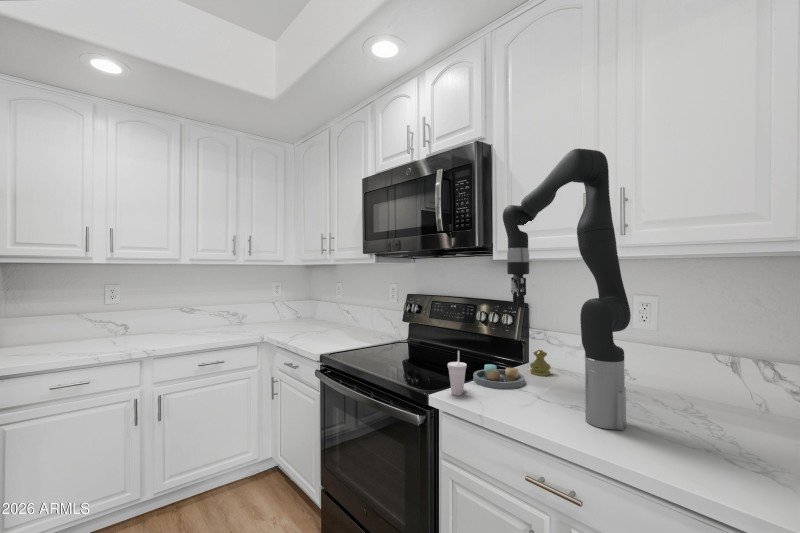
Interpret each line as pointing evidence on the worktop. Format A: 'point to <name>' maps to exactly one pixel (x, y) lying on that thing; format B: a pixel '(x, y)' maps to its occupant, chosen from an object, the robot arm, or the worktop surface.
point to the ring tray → (479, 379)
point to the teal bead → (489, 367)
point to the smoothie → (457, 376)
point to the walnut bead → (493, 375)
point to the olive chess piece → (540, 364)
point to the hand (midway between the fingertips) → (518, 306)
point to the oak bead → (511, 374)
